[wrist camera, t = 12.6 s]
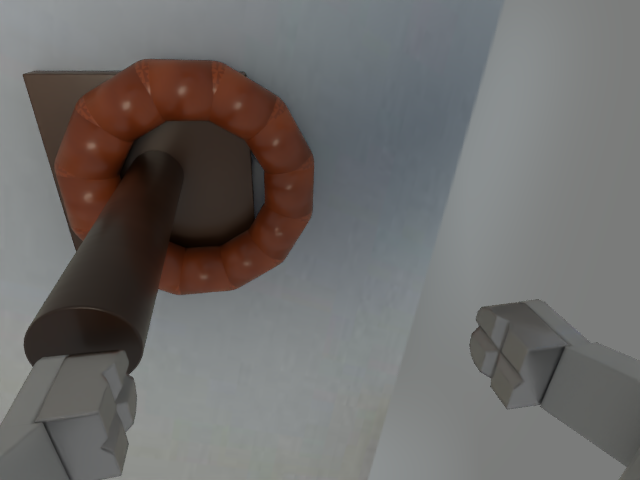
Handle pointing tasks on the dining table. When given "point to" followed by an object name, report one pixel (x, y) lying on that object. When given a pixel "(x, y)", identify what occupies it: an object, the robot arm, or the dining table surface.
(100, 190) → the ring
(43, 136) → the post
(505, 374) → the robot arm
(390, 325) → the dining table surface
